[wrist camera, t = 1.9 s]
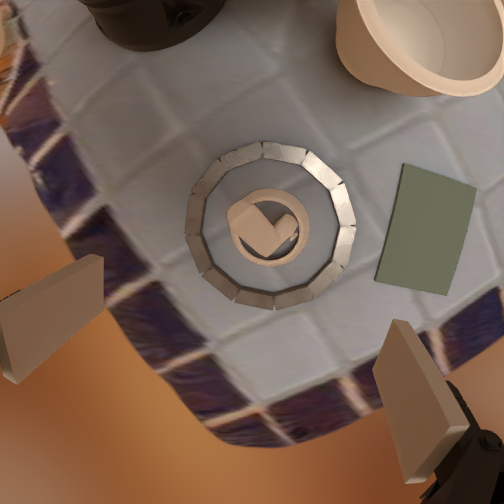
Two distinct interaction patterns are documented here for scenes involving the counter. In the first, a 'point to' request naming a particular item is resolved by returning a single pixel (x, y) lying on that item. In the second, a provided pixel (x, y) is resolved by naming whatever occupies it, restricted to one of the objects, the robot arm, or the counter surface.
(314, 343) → the counter surface
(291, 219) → the hook
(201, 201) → the metal ring
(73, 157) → the counter surface
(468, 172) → the counter surface
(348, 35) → the jar
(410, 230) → the rubber mat
